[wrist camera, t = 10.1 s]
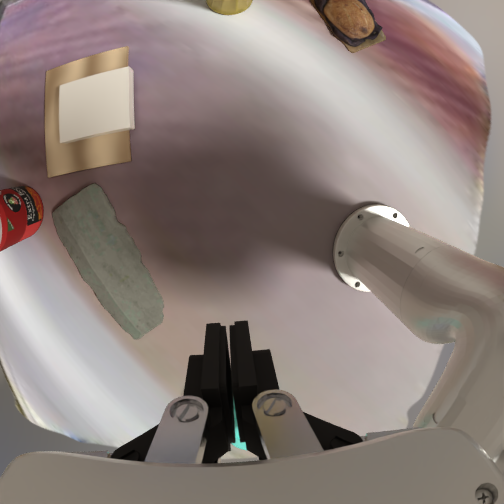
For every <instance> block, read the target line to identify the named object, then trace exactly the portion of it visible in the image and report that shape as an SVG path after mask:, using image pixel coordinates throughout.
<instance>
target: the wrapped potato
mask: <svg viewBox="0 0 504 504" xmlns="http://www.w3.org/2000/svg"><path fill="white" fill-rule="evenodd" d="M310 1H311V2H312V4H313V5H314V7H315V8H316V10H317V12H318V13H319V14H320V16H321V17H322V18H323V19H324V21H325V22H326V23H327V25H328V26H329V27H330V30H331V31H332V32H333V33H334V35H335V36H336V37H337V38H338V39H339V40H340V41H341V42H342V43H343V44H344V45H345V46H346V47H347V49H348V51H350V52H351V53H355V52H357V51H359V50H362V49H364V48H366V47H369V46H371V45H374V44H376V43H379V42H382V41H384V40H386V37H385V35H384V33H383V32H382V27H381V26H379V25H378V24H377V23H376V21H375V19H374V15H373V13H372V11H371V10H370V9H369V7H368V6H367V3H366V2H365V0H310Z"/></svg>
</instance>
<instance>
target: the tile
mask: <svg viewBox="0 0 504 504" xmlns="http://www.w3.org/2000/svg"><path fill="white" fill-rule="evenodd" d="M132 129H135V124H134V91H133V70H132V69H131V68H130V67H129V66H128V67H124V68H119V69H115V70H111V71H107V72H103V73H99V74H95V75H92V76H88V77H85V78H82V79H78V80H75V81H72V82H69V83H66V84H63V85H60V89H59V133H60V143H66V144H68V143H71V142H75V141H79V140H84V139H88V138H92V137H97V136H101V135H106V134H111V133H116V132H121V131H127V130H132Z"/></svg>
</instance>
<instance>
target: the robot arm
mask: <svg viewBox="0 0 504 504" xmlns="http://www.w3.org/2000/svg"><path fill="white" fill-rule="evenodd" d="M358 215H359V217H358ZM357 217H358V218H357ZM339 251H340V253H338V252H339ZM333 258H334V264H335V267H336V270H337V272H338V274H339V275H340V277H341V278H342V279H343V280H344V282H345V283H347V284H348V285H349V286H350V287H352V288H354V289H356V290H359V291H362V292H372V293H373V294H374V295H375V296H376V297H377V298H378V299H379V300H380V301H381V302H382V303H383V304H384V305H385V306H386V307H387V308H388V309H389V310H390V311H391V312H392V313H393V314H394V315H395V316H396V317H397V318H398V319H399V320H400V321H401V322H402V323H403V324H404V325H405V326H406V327H407V328H408V329H409V330H410V331H411V332H412V333H413V334H414V335H416V336H417V337H418V338H420V339H421V340H423V341H425V342H429V343H432V344H446V343H452V342H455V346H454V350H453V352H452V354H451V356H450V359H449V361H448V363H447V365H446V368H445V370H444V372H443V374H442V375H441V377H440V379H439V381H438V383H437V384H436V386H435V388H434V390H433V391H432V393H431V395H430V396H429V398H428V400H427V401H426V403H425V405H424V406H423V408H422V410H421V411H420V413H419V415H418V417H417V418H416V420H415V423H414V425H413V428H407V429H400V430H392V431H383V432H373V433H366V436H359V435H357V434H355V433H354V432H351V431H349V430H346V429H343V428H341V427H338V426H336V425H333V424H331V423H328V422H326V421H323V420H321V419H319V418H316V417H314V416H311V415H309V414H307V413H305V412H303V411H302V410H301V408H300V406H299V404H298V402H297V400H296V399H295V397H294V396H293V395H292V394H290V393H289V392H286V391H283V390H279V386H278V382H277V377H276V373H275V369H274V365H273V360H272V356H271V352H270V349H267V350H257V351H252V348H251V341H250V334H249V327H248V321H236V322H235V325H230V353H231V366H230V358H229V350H228V342H227V334H226V326H221V325H220V323H210V324H207V325H206V335H205V345H204V355H190V357H189V362H188V369H187V375H186V382H185V389H184V396H182V397H178V398H176V399H174V400H172V401H171V402H170V403H169V404H168V405H167V407H166V409H165V411H164V414H163V416H162V419H161V421H160V423H159V424H158V425H157V426H155V427H153V428H152V429H150V430H148V431H147V432H145V433H143V434H142V435H140V436H138V437H137V438H135V439H133V440H132V441H130V442H128V443H126V444H125V445H123V446H121V447H119V448H118V449H117V450H115V451H114V453H109V452H108V451H91V452H57V451H41V452H31V453H26V454H23V455H20V456H18V457H16V458H15V459H14V460H13V461H12V462H11V463H10V464H9V465H8V466H7V468H6V469H5V471H4V473H3V474H2V476H1V478H0V504H504V267H501V266H499V265H496V264H493V263H490V262H487V261H485V260H482V259H480V258H478V257H476V256H473V255H471V254H469V253H467V252H465V251H462V250H460V249H458V248H456V247H453V246H451V245H449V244H447V243H445V242H443V241H440V240H438V239H436V238H434V237H431V236H429V235H427V234H425V233H422V232H420V231H418V230H415V229H413V228H411V227H410V226H409V224H408V222H407V220H406V219H405V217H404V216H403V215H402V214H401V213H400V212H399V211H397V210H395V209H394V208H392V207H389V206H386V205H381V204H372V205H368V206H364V207H362V208H360V209H358V210H356V211H355V212H354V213H352V214H351V215H350V216H349V217H348V218H347V219H346V220H345V221H344V222H343V224H342V226H341V227H340V229H339V231H338V233H337V235H336V238H335V242H334V248H333ZM233 399H234V402H233ZM234 405H235V412H236V419H237V425H238V432H239V438H240V443H241V442H246V449H247V450H248V451H250V452H252V453H253V454H255V455H257V460H258V461H248V462H234V463H221V456H223V455H224V454H225V453H226V452H228V451H231V447H230V443H236V438H235V421H234Z"/></svg>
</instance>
